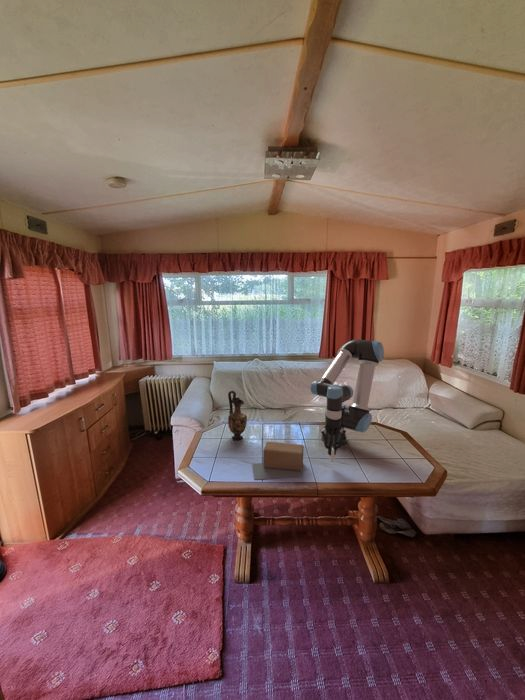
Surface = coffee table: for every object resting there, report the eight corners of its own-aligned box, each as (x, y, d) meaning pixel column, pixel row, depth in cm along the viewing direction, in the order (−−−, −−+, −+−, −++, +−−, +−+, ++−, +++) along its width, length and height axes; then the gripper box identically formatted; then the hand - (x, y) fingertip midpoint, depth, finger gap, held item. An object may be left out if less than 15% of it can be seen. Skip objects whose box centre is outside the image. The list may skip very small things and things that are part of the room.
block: (302, 453, 143) (263, 449, 147) (302, 472, 145) (262, 467, 149) (303, 444, 153) (266, 440, 157) (303, 461, 155) (266, 457, 158)
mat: (297, 461, 155) (297, 461, 155) (303, 477, 141) (303, 476, 141) (252, 464, 153) (252, 463, 153) (254, 479, 139) (254, 479, 139)
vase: (239, 444, 174) (239, 396, 169) (223, 439, 181) (222, 392, 176) (250, 436, 184) (250, 391, 179) (234, 432, 190) (234, 388, 186)
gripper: (343, 413, 150) (341, 456, 154) (318, 414, 149) (317, 457, 152) (349, 419, 143) (346, 463, 146) (323, 420, 141) (321, 465, 145)
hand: (331, 460), depth 149 cm, fingers closed
